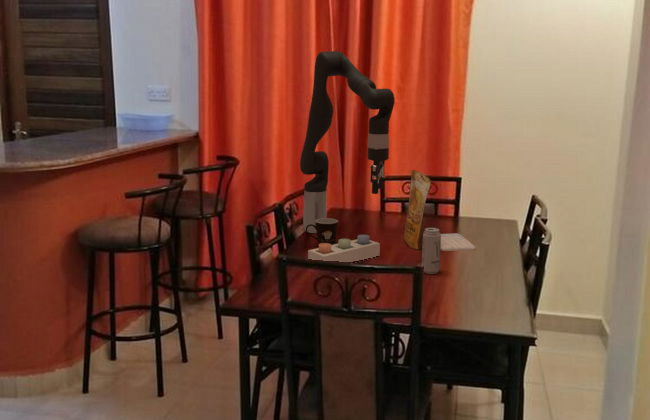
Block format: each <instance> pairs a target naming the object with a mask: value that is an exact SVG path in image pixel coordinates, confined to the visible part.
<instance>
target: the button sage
mask: <svg viewBox="0 0 650 420" xmlns="http://www.w3.org/2000/svg"><path fill="white" fill-rule="evenodd" d="M351 241H352V240H351V239H350V238H340V239H338V243H337V244H338V248H340V249H343V250H345V249H349V248H351Z"/></svg>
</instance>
